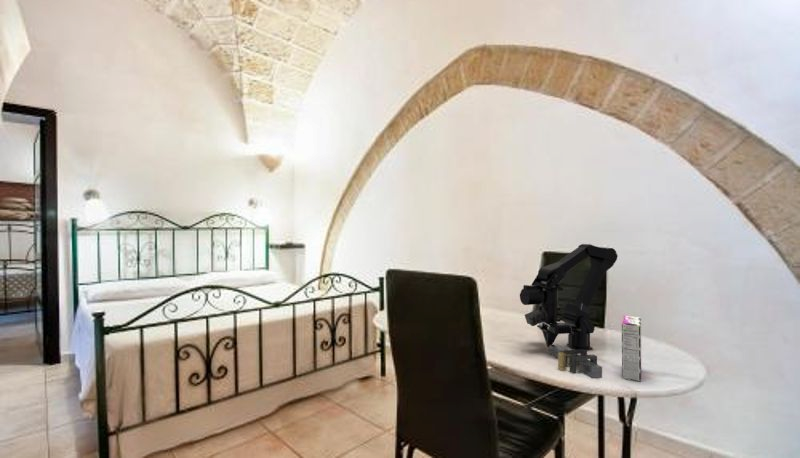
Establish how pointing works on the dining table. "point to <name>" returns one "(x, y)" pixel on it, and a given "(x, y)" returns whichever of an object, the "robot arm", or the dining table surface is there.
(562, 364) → the sight post
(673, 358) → the dining table surface
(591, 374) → the long grey bar
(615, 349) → the dining table surface
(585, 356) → the dark grey arch
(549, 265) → the robot arm
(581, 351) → the grey arch block
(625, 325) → the candy bar box
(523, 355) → the dining table surface
